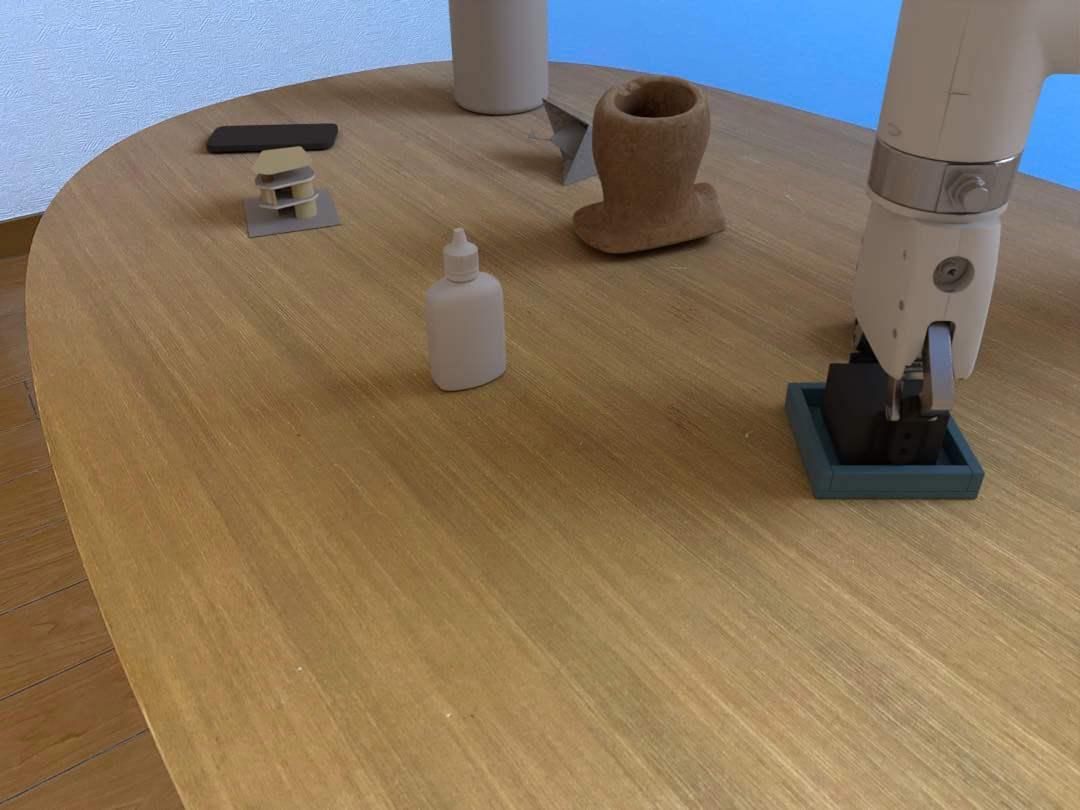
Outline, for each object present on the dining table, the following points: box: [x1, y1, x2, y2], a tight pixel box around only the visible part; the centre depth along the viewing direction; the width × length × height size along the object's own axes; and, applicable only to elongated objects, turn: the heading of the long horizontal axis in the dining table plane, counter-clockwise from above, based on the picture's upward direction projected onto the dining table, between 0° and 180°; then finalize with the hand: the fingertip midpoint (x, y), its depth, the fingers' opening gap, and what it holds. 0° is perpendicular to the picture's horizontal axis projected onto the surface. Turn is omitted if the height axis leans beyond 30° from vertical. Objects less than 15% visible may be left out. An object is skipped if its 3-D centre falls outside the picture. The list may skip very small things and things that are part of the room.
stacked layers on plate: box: [242, 146, 342, 238], centre depth 95 cm, size 10×9×6 cm
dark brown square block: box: [821, 362, 951, 465], centre depth 61 cm, size 6×6×4 cm
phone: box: [205, 122, 339, 153], centre depth 114 cm, size 7×1×15 cm
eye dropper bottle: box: [423, 227, 507, 392], centre depth 68 cm, size 4×6×12 cm
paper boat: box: [527, 98, 598, 187], centre depth 104 cm, size 12×6×9 cm
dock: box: [783, 381, 986, 500], centre depth 62 cm, size 10×10×2 cm
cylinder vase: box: [447, 0, 549, 116], centre depth 119 cm, size 12×12×25 cm
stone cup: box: [571, 74, 727, 254], centre depth 86 cm, size 15×12×15 cm
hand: (878, 430), depth 62 cm, fingers closed on dark brown square block, 6 cm apart
